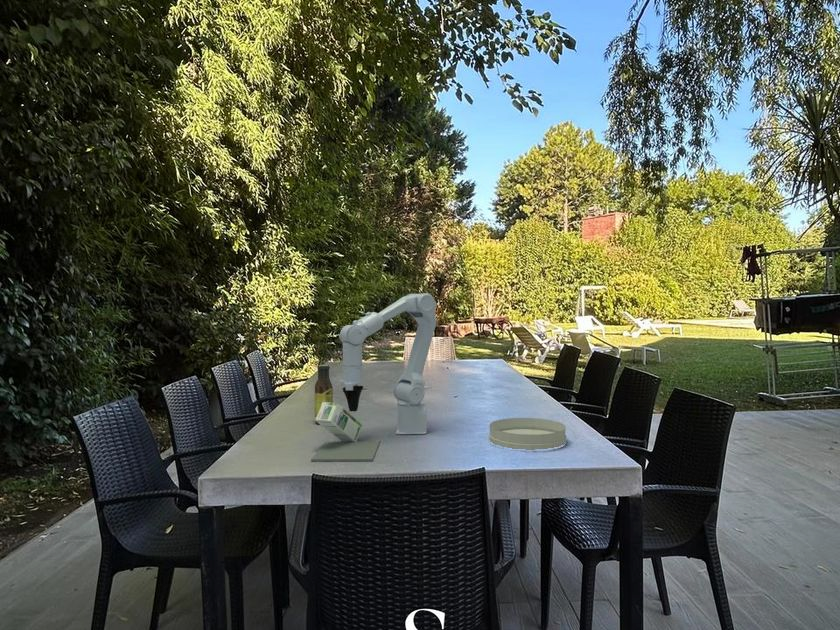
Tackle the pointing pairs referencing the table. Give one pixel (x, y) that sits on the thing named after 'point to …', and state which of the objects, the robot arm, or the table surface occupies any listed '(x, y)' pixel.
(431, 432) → the table surface
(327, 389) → the sauce bottle
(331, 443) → the mat
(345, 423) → the syrup box
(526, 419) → the dish
